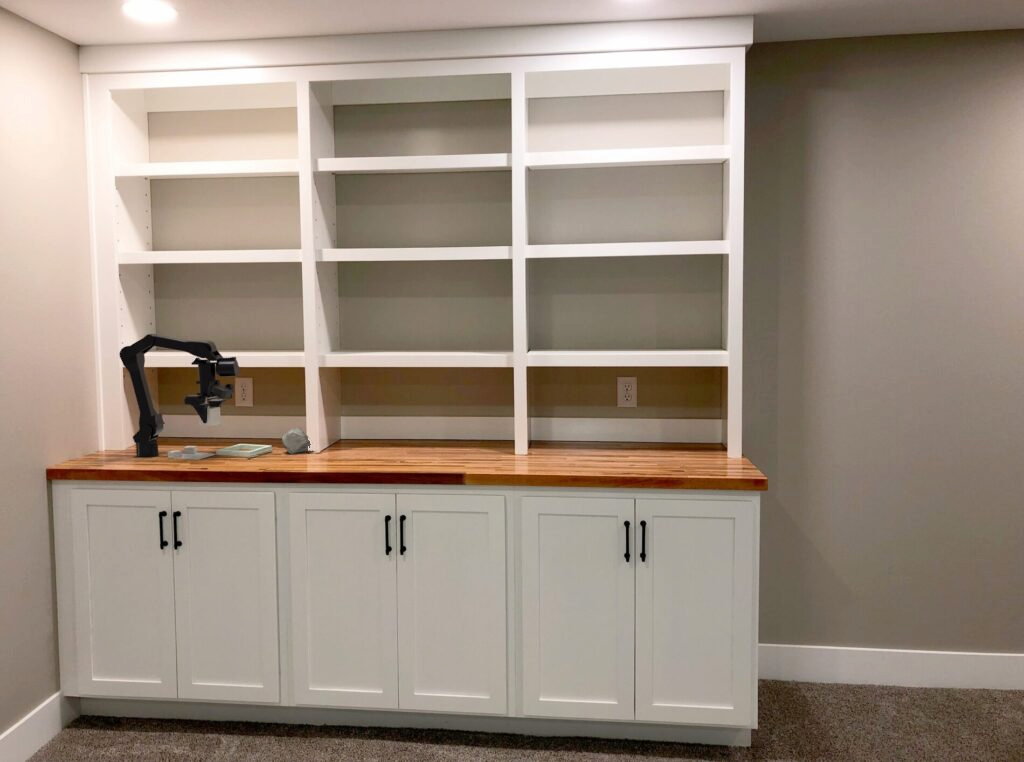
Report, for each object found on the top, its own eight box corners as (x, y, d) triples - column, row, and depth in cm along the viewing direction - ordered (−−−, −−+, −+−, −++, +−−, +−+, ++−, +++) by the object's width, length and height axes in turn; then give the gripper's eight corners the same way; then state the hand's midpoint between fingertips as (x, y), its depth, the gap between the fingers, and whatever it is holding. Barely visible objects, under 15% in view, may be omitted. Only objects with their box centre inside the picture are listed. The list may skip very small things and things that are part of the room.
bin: (216, 457, 294) (216, 450, 293) (240, 450, 307) (239, 443, 306) (249, 459, 290) (249, 452, 289) (272, 452, 302) (272, 445, 302)
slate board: (165, 460, 288) (165, 451, 288) (189, 454, 299) (188, 445, 299) (196, 462, 284) (196, 453, 284) (219, 456, 296) (219, 447, 295)
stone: (300, 422, 306) (285, 426, 297) (319, 441, 305) (305, 445, 295) (285, 441, 308) (270, 445, 299) (304, 460, 307) (290, 464, 297)
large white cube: (199, 425, 290) (198, 408, 290) (209, 423, 295) (208, 406, 295) (211, 426, 289) (210, 408, 288) (220, 424, 294) (219, 407, 293)
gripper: (209, 380, 279) (212, 426, 281) (243, 374, 297) (246, 418, 298) (181, 380, 283) (184, 426, 284) (217, 374, 300) (220, 418, 302)
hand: (210, 422), depth 292 cm, fingers closed on large white cube, 5 cm apart
